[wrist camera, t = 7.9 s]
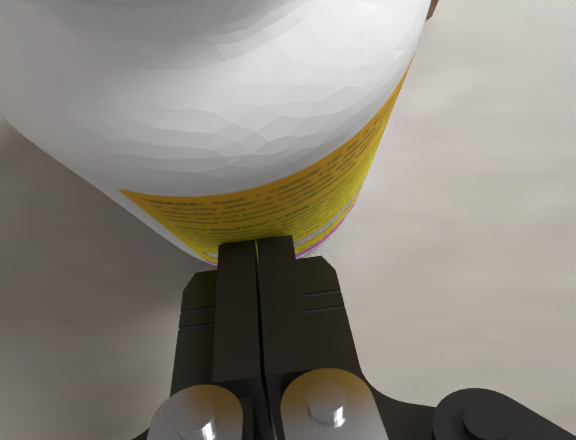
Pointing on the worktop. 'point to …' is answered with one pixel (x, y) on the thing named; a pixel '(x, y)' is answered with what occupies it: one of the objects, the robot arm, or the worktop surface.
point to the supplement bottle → (211, 106)
